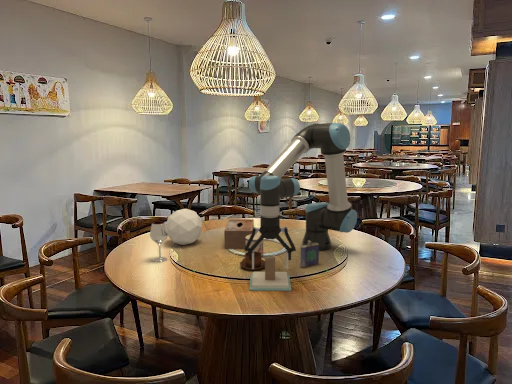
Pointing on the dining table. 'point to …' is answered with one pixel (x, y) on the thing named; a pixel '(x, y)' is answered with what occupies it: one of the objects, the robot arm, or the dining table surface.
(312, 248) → the flask
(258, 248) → the teacup with lid
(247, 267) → the cup and saucer
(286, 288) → the mat
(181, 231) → the ball
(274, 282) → the lid
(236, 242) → the tissue box cover
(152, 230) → the wineglass
